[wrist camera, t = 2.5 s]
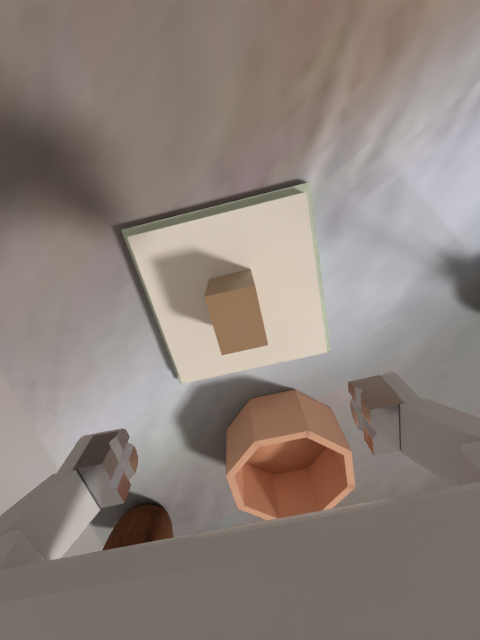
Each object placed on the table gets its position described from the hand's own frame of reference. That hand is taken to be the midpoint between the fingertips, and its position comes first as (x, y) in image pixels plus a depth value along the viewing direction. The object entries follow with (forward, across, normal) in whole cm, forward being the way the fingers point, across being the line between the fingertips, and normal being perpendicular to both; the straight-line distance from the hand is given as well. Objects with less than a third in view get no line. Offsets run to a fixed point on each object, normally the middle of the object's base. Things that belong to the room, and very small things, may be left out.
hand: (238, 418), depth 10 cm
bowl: (+14, -1, +14) cm, 20 cm away
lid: (+13, 0, -1) cm, 13 cm away
